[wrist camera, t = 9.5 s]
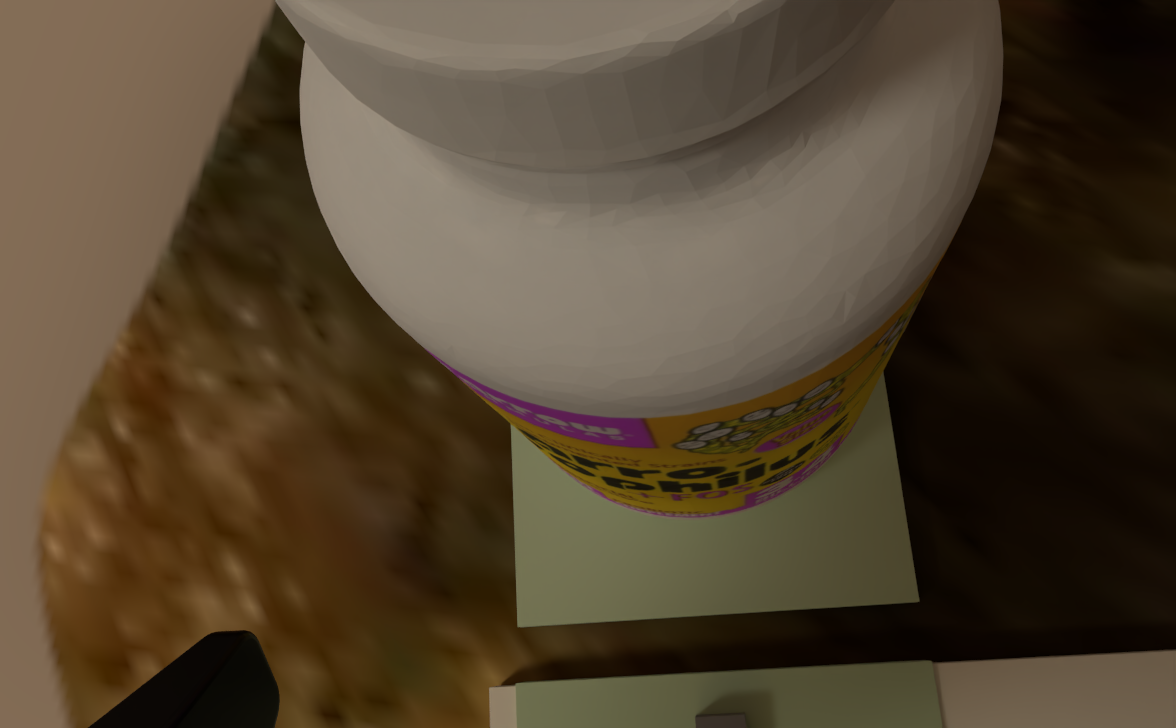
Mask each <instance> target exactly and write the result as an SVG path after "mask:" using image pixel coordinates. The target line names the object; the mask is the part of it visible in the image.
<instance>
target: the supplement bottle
mask: <svg viewBox="0 0 1176 728" xmlns="http://www.w3.org/2000/svg"><path fill="white" fill-rule="evenodd" d="M275 1H276V3H277V4H278V5H279V7H280V8H281V9H282V11H283V12H284V14H285V15H286V16H287V18H288V19H289V20H290V22H291V23H292V25H293V26H294V27H295V29H296V30H297V31H298V32H299V34H300V35H301V36H302V38H303V39H304V40H305V46H304V52H303V62H302V72H301V82H300V123H301V130H302V137H303V144H304V151H305V158H306V163H307V167H308V171H309V175H310V179H311V183H312V187H313V191H314V194H315V196H316V199H317V202H318V205H319V207H320V210H321V213H322V215H323V217H324V219H325V221H326V224H327V226H328V228H329V230H330V232H331V234H332V236H333V238H334V240H335V243H336V245H337V247H338V249H339V250H340V252H341V254H342V255H343V257H344V259H345V260H346V262H347V263H348V265H349V267H350V268H351V270H352V272H353V273H354V274H355V276H356V277H357V278H358V280H359V281H360V283H361V284H362V285H363V286H364V288H365V289H366V290H367V292H368V293H369V294H370V295H371V296H372V298H373V299H374V300H375V301H376V302H377V303H378V304H379V305H380V307H381V308H382V309H383V310H384V311H385V312H386V313H387V314H388V315H389V316H390V317H391V318H392V319H393V320H394V321H395V322H396V323H397V324H398V325H399V326H400V327H401V328H402V329H404V330H405V331H406V332H407V333H408V334H409V335H410V336H411V337H413V338H414V339H415V340H416V341H417V342H418V343H419V344H420V345H421V346H423V347H424V348H425V349H426V350H427V351H428V352H429V353H430V354H431V355H432V356H434V357H435V358H436V359H437V360H438V361H439V362H441V363H442V364H443V365H444V366H445V367H447V368H448V369H449V370H450V371H451V372H453V373H454V374H455V375H456V376H457V377H458V378H459V379H460V380H462V381H463V382H464V383H465V384H466V385H467V386H468V387H469V388H470V389H472V390H473V391H474V392H475V393H476V394H477V395H478V396H480V397H481V398H482V399H483V400H484V401H485V402H486V403H488V404H489V405H490V406H491V407H492V408H493V409H494V410H496V411H497V412H498V413H499V414H500V415H501V416H503V417H504V418H505V419H506V420H507V421H508V422H509V423H510V424H511V425H512V426H514V427H515V428H516V429H517V430H518V431H520V432H521V433H522V434H523V435H524V436H525V437H526V438H527V439H528V440H529V441H530V442H531V443H532V444H533V445H535V446H536V447H537V448H538V449H539V450H540V451H541V452H542V453H544V454H545V455H546V456H547V457H548V458H549V459H550V460H551V461H552V462H553V463H555V464H556V465H557V466H558V467H559V468H560V469H561V470H563V471H564V472H565V473H566V474H568V475H569V476H570V477H571V478H573V479H574V480H576V481H577V482H578V483H580V484H581V485H582V486H584V487H585V488H587V489H588V490H589V491H591V492H593V493H594V494H596V495H598V496H599V497H601V498H603V499H605V500H607V501H609V502H611V503H613V504H616V505H618V506H620V507H622V508H625V509H628V510H630V511H634V512H637V513H641V514H644V515H648V516H653V517H659V518H666V519H674V520H704V519H715V518H721V517H727V516H731V515H735V514H739V513H743V512H746V511H749V510H752V509H755V508H758V507H760V506H763V505H765V504H768V503H770V502H772V501H774V500H776V499H778V498H780V497H782V496H783V495H785V494H787V493H789V492H790V491H792V490H793V489H795V488H796V487H798V486H799V485H801V484H802V483H803V482H805V481H806V480H807V479H808V478H810V477H811V476H812V475H813V474H815V473H816V472H817V471H818V470H819V469H820V468H821V467H822V466H823V465H824V464H825V463H826V462H827V461H828V460H829V459H830V458H831V457H832V456H833V455H834V454H835V452H836V451H837V450H838V448H839V447H840V446H841V445H842V443H843V442H844V440H845V439H846V438H847V436H848V435H849V433H850V432H851V430H852V429H853V427H854V425H855V424H856V422H857V420H858V419H859V417H860V415H861V413H862V411H863V409H864V407H865V405H866V404H867V402H868V400H869V398H870V396H871V394H872V392H873V390H874V388H875V386H876V384H877V382H878V380H879V378H880V376H881V375H882V373H883V371H884V368H885V367H886V365H887V363H888V361H889V359H890V357H891V355H892V353H893V351H894V349H895V347H896V345H897V343H898V341H899V339H900V337H901V336H902V334H903V333H904V331H905V329H906V327H907V325H908V323H909V321H910V319H911V317H912V315H913V313H914V311H915V309H916V307H917V305H918V303H919V301H920V300H921V298H922V296H923V294H924V292H925V289H926V288H927V286H928V284H929V282H930V280H931V278H932V276H933V274H934V273H935V271H936V269H937V267H938V265H939V263H940V261H941V260H942V258H943V256H944V255H945V253H946V251H947V249H948V247H949V245H950V243H951V241H952V239H953V238H954V236H955V234H956V232H957V230H958V228H959V226H960V224H961V221H962V219H963V217H964V215H965V212H966V211H967V209H968V207H969V205H970V203H971V201H972V199H973V197H974V194H975V192H976V189H977V187H978V184H979V182H980V179H981V177H982V174H983V171H984V168H985V165H986V162H987V159H988V157H989V154H990V151H991V147H992V142H993V138H994V133H995V129H996V124H997V119H998V114H999V109H1000V104H1001V96H1002V82H1003V42H1002V28H1001V14H1000V7H999V2H998V0H275Z"/></svg>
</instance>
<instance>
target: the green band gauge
mask: <svg viewBox="0 0 1176 728" xmlns="http://www.w3.org/2000/svg"><path fill="white" fill-rule="evenodd" d="M511 440H512V470H513V500H514V530H515V560H516V590H517V621H518V627H534V626H550V625H566V624H582V623H598V622H614V621H630V620H646V619H661V618H677V617H693V616H709V615H725V614H741V613H757V612H773V611H789V610H804V609H820V608H836V607H852V606H868V605H884V604H900V603H916V602H919V595H918V589H917V583H916V576H915V570H914V564H913V557H912V551H911V544H910V538H909V532H908V525H907V519H906V513H905V506H904V500H903V493H902V487H901V481H900V474H899V468H898V462H897V455H896V449H895V442H894V436H893V430H892V423H891V417H890V410H889V404H888V398H887V391H886V385H885V379H884V372H883V373H882V375H881V376H880V378H879V380H878V382H877V384H876V386H875V388H874V390H873V392H872V394H871V396H870V398H869V400H868V402H867V404H866V405H865V407H864V409H863V411H862V413H861V415H860V417H859V419H858V420H857V422H856V424H855V425H854V427H853V429H852V430H851V432H850V433H849V435H848V436H847V438H846V439H845V440H844V442H843V443H842V445H841V446H840V447H839V448H838V450H837V451H836V452H835V454H834V455H833V456H832V457H831V458H830V459H829V460H828V461H827V462H826V463H825V464H824V465H823V466H822V467H821V468H820V469H819V470H818V471H817V472H816V473H815V474H813V475H812V476H811V477H810V478H808V479H807V480H806V481H805V482H803V483H802V484H801V485H799V486H798V487H796V488H795V489H793V490H792V491H790V492H789V493H787V494H785V495H783V496H782V497H780V498H778V499H776V500H774V501H772V502H770V503H768V504H765V505H763V506H760V507H758V508H755V509H752V510H749V511H746V512H743V513H739V514H735V515H731V516H727V517H721V518H715V519H704V520H674V519H666V518H659V517H653V516H648V515H644V514H641V513H637V512H634V511H630V510H628V509H625V508H622V507H620V506H618V505H616V504H613V503H611V502H609V501H607V500H605V499H603V498H601V497H599V496H598V495H596V494H594V493H593V492H591V491H589V490H588V489H587V488H585V487H584V486H582V485H581V484H580V483H578V482H577V481H576V480H574V479H573V478H571V477H570V476H569V475H568V474H566V473H565V472H564V471H563V470H561V469H560V468H559V467H558V466H557V465H556V464H555V463H553V462H552V461H551V460H550V459H549V458H548V457H547V456H546V455H545V454H544V453H542V452H541V451H540V450H539V449H538V448H537V447H536V446H535V445H533V444H532V443H531V442H530V441H529V440H528V439H527V438H526V437H525V436H524V435H523V434H522V433H521V432H520V431H518V430H517V429H516V428H515V427H514V426H512V425H511ZM489 695H490V728H1176V649H1175V650H1157V651H1138V652H1120V653H1101V654H1082V655H1064V656H1045V657H1026V658H1008V659H989V660H971V661H952V662H933V663H932V661H929V660H913V661H894V662H876V663H857V664H839V665H821V666H802V667H784V668H765V669H747V670H728V671H710V672H691V673H673V674H654V675H636V676H617V677H599V678H580V679H562V680H544V681H525V682H520V683H515V685H505V686H495V687H490V688H489Z"/></svg>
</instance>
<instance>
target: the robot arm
mask: <svg viewBox="0 0 1176 728" xmlns="http://www.w3.org/2000/svg"><path fill="white" fill-rule="evenodd" d="M279 703H280V699H279V690H278V686H277V683H276V681H275V678H274V676H273V674H272V671H271V669H270V667H269V664H268V662H267V660H266V657H265V655H264V653H263V650H262V648H261V645H260V643H259V641H258V639H257V637H256V636H255V635H254V634H253V633H251V632H249V631H245V630H241V631H221V632H214V633H211V634H209V635H207V636H205V637H204V638H203V639H201V640H200V641H199V642H197V643H196V644H195V645H194V646H192V647H191V648H190V649H188V650H187V651H186V652H185V653H183V654H182V655H181V656H179V657H178V658H177V659H176V660H174V661H173V662H172V663H170V664H169V665H168V666H167V667H165V668H164V669H163V670H161V671H160V672H159V673H158V674H156V675H155V676H154V677H152V678H151V679H150V680H149V681H147V682H146V683H145V684H144V685H142V686H141V687H140V688H138V689H137V690H136V691H135V692H133V693H132V694H131V695H129V696H128V697H127V698H126V699H124V700H123V701H122V702H120V703H119V704H118V705H117V706H115V707H114V708H113V709H111V710H110V711H109V712H108V713H106V714H105V715H104V716H102V717H101V718H100V719H99V720H97V721H96V722H95V723H93V724H92V725H91V726H90V727H88V728H274V727H275V724H276V720H277V716H278V711H279Z"/></svg>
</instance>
